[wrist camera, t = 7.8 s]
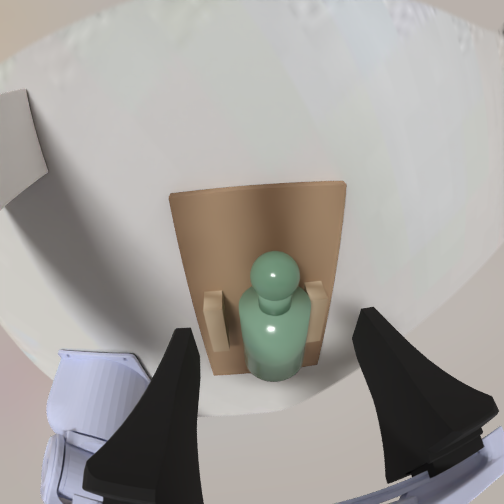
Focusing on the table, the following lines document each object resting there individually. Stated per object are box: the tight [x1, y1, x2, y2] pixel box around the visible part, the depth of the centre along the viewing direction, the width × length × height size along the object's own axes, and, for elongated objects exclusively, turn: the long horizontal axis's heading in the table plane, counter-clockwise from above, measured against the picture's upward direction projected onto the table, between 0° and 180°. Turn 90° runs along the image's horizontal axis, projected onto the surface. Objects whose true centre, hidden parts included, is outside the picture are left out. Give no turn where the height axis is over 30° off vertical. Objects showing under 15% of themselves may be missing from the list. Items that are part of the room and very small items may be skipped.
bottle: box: [239, 251, 311, 382], centre depth 18 cm, size 4×4×9 cm
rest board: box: [169, 181, 347, 376], centre depth 20 cm, size 10×18×2 cm, turn 3°
